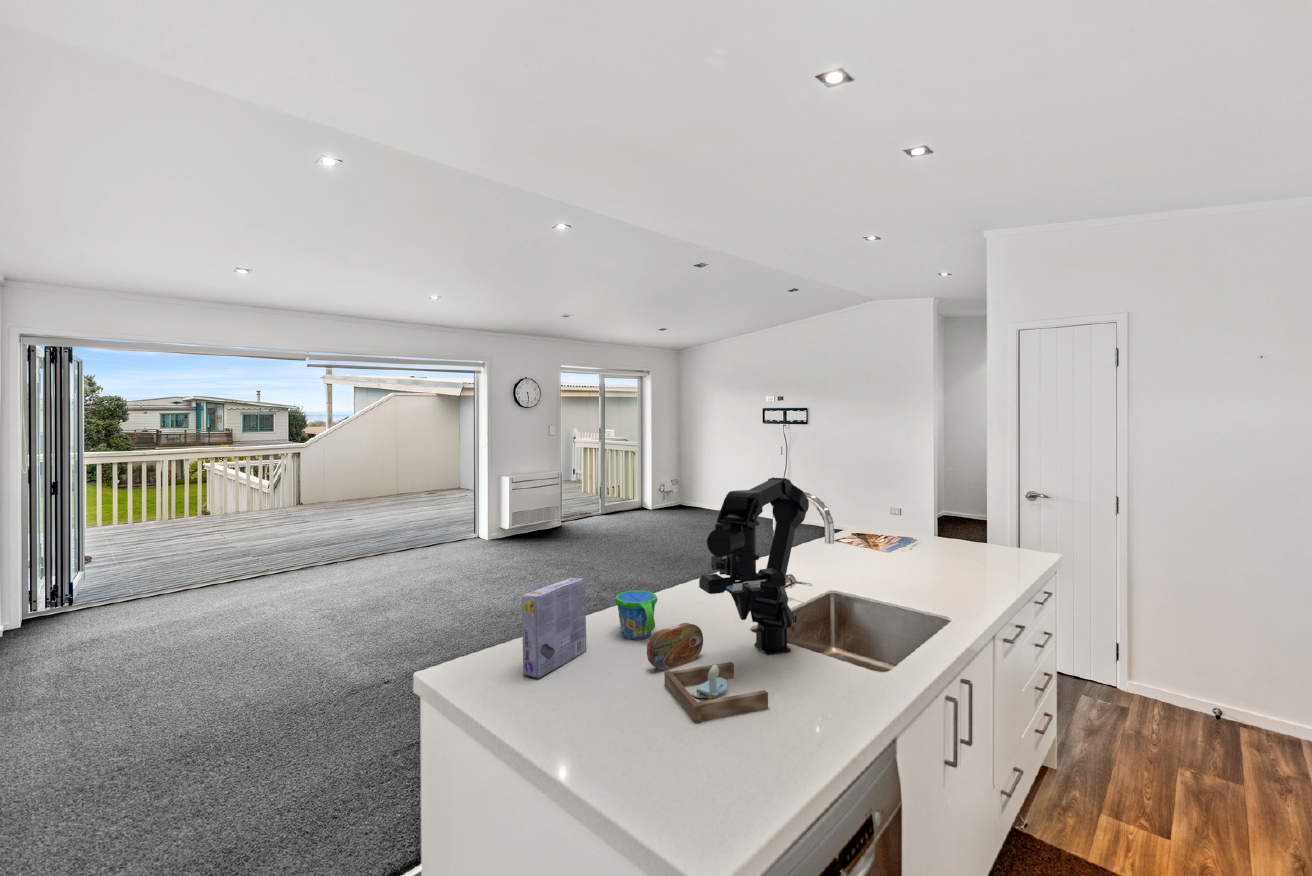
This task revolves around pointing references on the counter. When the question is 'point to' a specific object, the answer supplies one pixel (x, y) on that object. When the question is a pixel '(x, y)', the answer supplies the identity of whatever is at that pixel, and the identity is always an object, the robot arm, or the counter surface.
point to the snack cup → (636, 613)
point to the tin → (674, 646)
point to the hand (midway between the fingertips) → (743, 619)
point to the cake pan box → (553, 626)
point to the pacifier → (711, 685)
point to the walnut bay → (715, 706)
